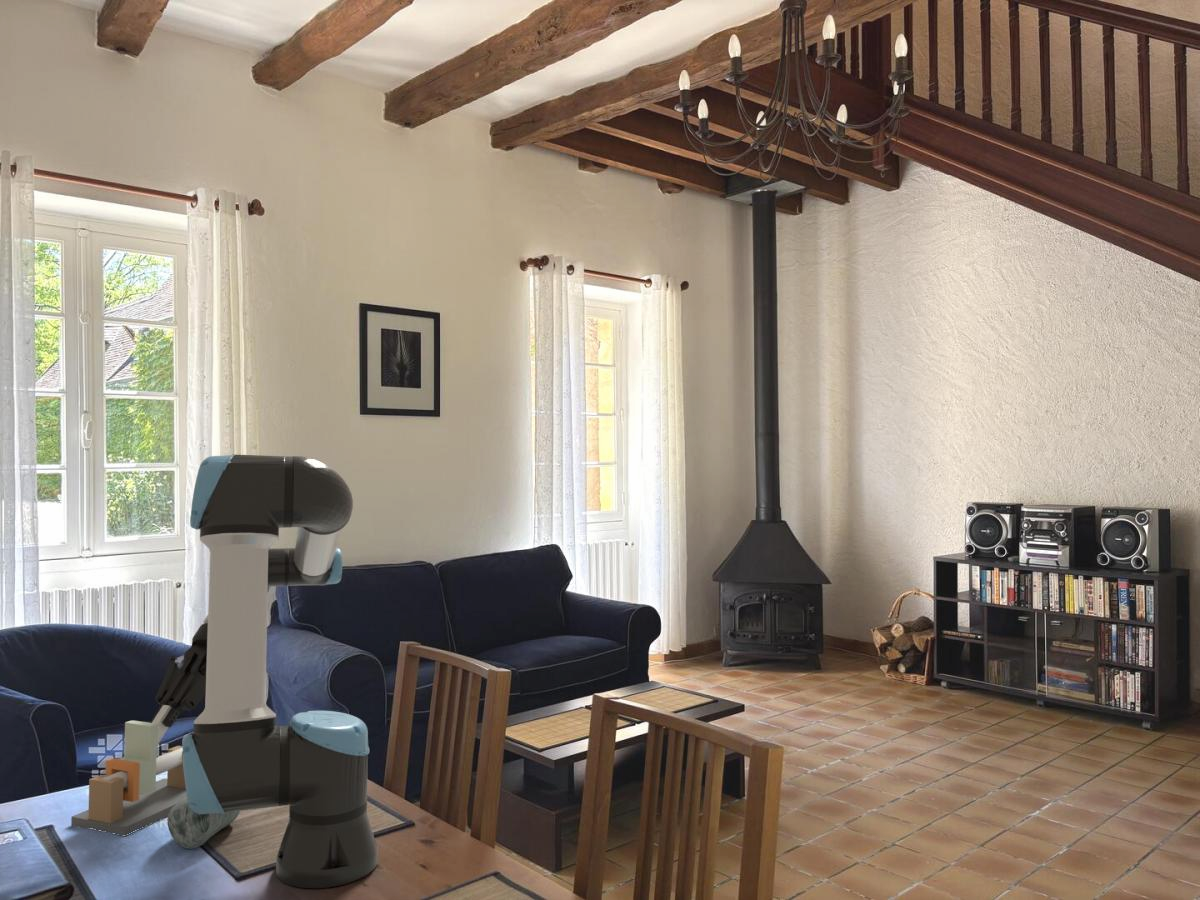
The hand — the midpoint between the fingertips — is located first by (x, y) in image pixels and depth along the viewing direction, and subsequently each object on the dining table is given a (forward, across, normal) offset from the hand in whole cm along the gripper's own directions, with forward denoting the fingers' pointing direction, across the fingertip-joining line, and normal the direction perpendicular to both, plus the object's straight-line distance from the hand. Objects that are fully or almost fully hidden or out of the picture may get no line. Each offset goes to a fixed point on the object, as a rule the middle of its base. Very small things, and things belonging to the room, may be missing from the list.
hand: (149, 741), depth 161 cm
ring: (+10, 0, -2) cm, 10 cm away
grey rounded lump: (+13, -18, -5) cm, 23 cm away
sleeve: (+8, 0, -3) cm, 8 cm away
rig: (+9, 0, -8) cm, 12 cm away
